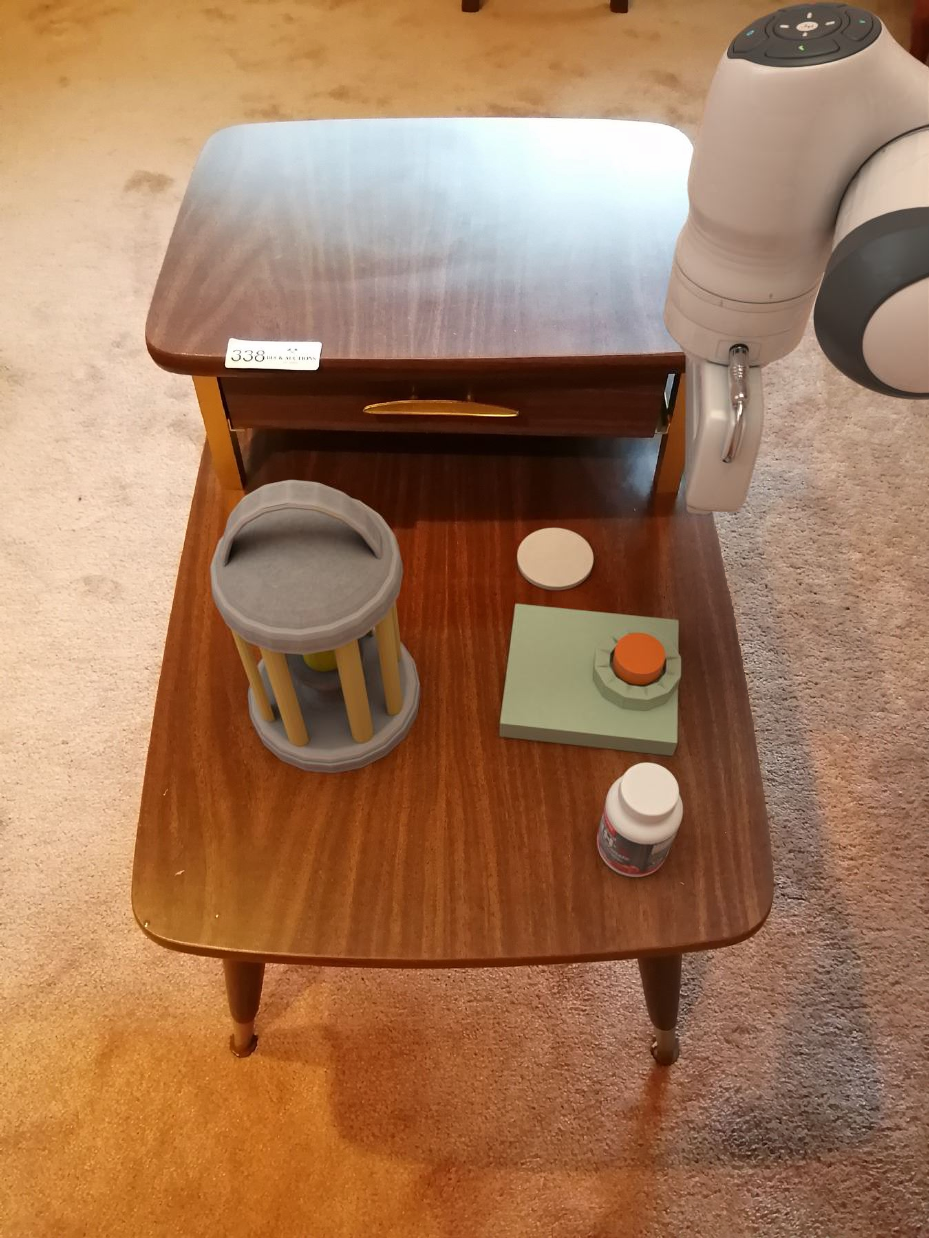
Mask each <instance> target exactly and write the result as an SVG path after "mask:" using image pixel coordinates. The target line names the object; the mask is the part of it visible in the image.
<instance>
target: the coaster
mask: <svg viewBox="0 0 929 1238" xmlns="http://www.w3.org/2000/svg"><path fill="white" fill-rule="evenodd" d="M516 555H517V556H516V564H517V567H518V571H519V572H520V574H521V575H522V576H523V578H524V579H525V580H527V581H528V582H529V583H531V584H532V585H533V586H535V587H537V588H540V589H544V590H548V591H565V590H569V589H573V588H575V587H578V586H579V585H581V584H582V583H583V582H585V580H587V579H588V577H589V576H590V575H591V573H592V570H593V566H594V552H593V549H592V547H591V546H590V544H589V542H588V541H587V540H586V539H585V538H584V537H582V536H581V535H580V534H579V533H576V532H574V531H573V530H570V529H566V528H561V527H546V528H542V529H538V530H535V531H534V532H532V533H530V534H529V535H527V536H526V537H525V538H524V539H523V540H522V541H521V543H520V544H519V546H518V548H517V554H516Z"/></svg>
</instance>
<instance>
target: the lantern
mask: <svg viewBox="0 0 929 1238" xmlns="http://www.w3.org/2000/svg"><path fill="white" fill-rule="evenodd" d="M398 543H399V542H398V540H397V536H396V535H395V533H394V532H393V530H392V529H391V528H390V526H389V525H388V523H387V522H386V520H385V519H384V517H383V516H382V515H380V514H379V513H378V512H377V511H375V510H374V509H373V508H371V507H370V506H368V505H366V504H365V503H363V502H362V501H361V500H359V499H356V498H352V497H351V496H349V495H348V494H346V493H345V492H343V491H341V490H339V489H336V488H334V487H332V486H331V487H330V486H328V485H325V484H324V483H320V482H317V481H308V480H299V479H298V480H297V479H287V480H282V481H277V482H273V483H272V482H271V483H267V484H264V485H262V486H260V487H258V488H257V489H255V490H253V491H252V492H249V493H248V494H246V495H245V496H243V497H242V498H241V500H239V502H238V503H237V504H236V506H235V507H234V508H233V509H232V510H231V512H230V514H229V516H228V518H227V521H226V525H225V528H224V532H223V535H222V536H221V538H220V539H219V540H218V543H217V545H216V549H215V552H214V554H213V556H212V557H213V558H212V560H211V563H210V567H209V571H210V572H209V573H210V583H211V584H210V585H211V593H212V594H211V595H212V599H213V602H214V603H215V606H216V608H217V609H218V611H219V614H220V615H221V617H222V619H223V621H224V623H225V624H226V626H227V627H228V628H230V631H231V634H232V636H233V639H234V643H235V645H236V649H237V651H238V653H239V657H240V660H241V662H242V665H243V668H244V671H245V673H246V676H247V680H248V682H249V687H248V692H247V699H248V710H249V717H250V720H251V723H252V726H253V727H254V729H255V731H256V733H257V735H258V737H259V739H260V741H261V742H262V744H263V746H264V747H266V748H267V750H269V751H270V752H271V753H272V754H273V755H275V757H277V758H278V759H279V760H280V761H282V762H283V763H286V764H289V765H291V766H293V767H296V768H298V769H300V770H303V771H305V772H313V773H314V772H315V773H326V774H338V773H342V772H348V771H353V770H359V769H362V768H364V767H366V766H368V765H370V764H372V763H374V762H376V761H378V760H380V759H382V758H384V757H386V756H387V755H388V754H390V753H391V752H392V750H394V749H395V748H396V747H397V746H398V745H399V744H400V743H401V742H402V741H403V740H404V739H405V738H406V737H407V735H408V733H409V731H410V729H411V727H412V726H413V724H414V722H415V721H416V718H417V716H418V711H419V704H420V699H421V684H420V683H421V682H420V679H419V674H418V671H417V665H416V661H415V660H414V659H413V657H412V656H411V654H410V652H409V651H408V649H407V648H406V646H405V645H404V644H403V642H401V635H400V627H399V617H398V608H397V599H398V598H399V596H400V590H401V586H402V580H403V575H404V566H403V561H402V555H401V552H400V547H399V544H398ZM251 645H254V646H256V647H259V651H260V654H261V657H262V658H261V659H260V660H259V662H258V663H257V661H256V657H255V655H254V651H253V649H252V646H251Z"/></svg>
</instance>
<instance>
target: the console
mask: <svg viewBox="0 0 929 1238" xmlns="http://www.w3.org/2000/svg"><path fill="white" fill-rule="evenodd" d="M679 627H680V625H679V619H671V618H662V617H653V616H642V615H631V614H622V613H614V612H613V613H611V612H603V611H602V612H601V611H592V610H582V609H573V608H562V607H555V606H554V607H553V606H543V605H532V604H523V603H515V604H514V611H513V619H512V627H511V635H510V642H509V649H508V650H509V651H508V658H507V665H506V673H505V681H504V687H503V695H502V703H501V711H500V719H499V732H498V733H499V735H498V737H501V738H508V739H509V738H510V739H520V740H527V741H535V742H536V741H537V742H544V743H554V744H563V745H571V746H580V747H589V748H597V749H607V750H616V751H625V752H634V753H643V754H651V755H659V756H668V757H673V756H674V754H675V751H676V748H677V746H678V736H679V735H678V731H679V730H678V729H679V728H678V726H679V725H678V722H679V721H678V717H679V716H678V715H679V713H678V712H679V684H680V681H681V678H682V656H681V655H680V654H679ZM631 633H645V634H648V635H651V636H653V637H654V638H656V639H657V640H658V641H659V642H660V643H661V644H662V646H663V648H664V650H665V661H664V665H663V668H662V672H661V674H660V676H659V677H658V678H657V679H656V680H655V681H654V682H652V683H650V684H647V685H633V684H629V683H627V682H625V681H623V680H622V679H621V678H620V677H619V676H618V675H617V674H616V672H615V670H614V668H613V657H614V652H615V647H616V645H617V643H618V641H619V640H620V639H621V638H622V637H624V636H626V635H628V634H631Z"/></svg>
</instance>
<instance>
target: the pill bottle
mask: <svg viewBox="0 0 929 1238" xmlns="http://www.w3.org/2000/svg"><path fill="white" fill-rule="evenodd" d="M606 794H607V795H606V797H605V801H604V806H603V809H602V815H601V818H600V822H599V825H598V830H597V835H596V845H597V850H598V852H599V855H600V858H601V859H602V860H603V862H604V863H605V864H606V865H607V866H608V867H609V868H610V869H611V870H613V871H614V872H616V873H617V874H619V875H623V876H626V877H629V878H642V877H643V878H644V877H645V876H648V875H649V876H650V875H651V874H653V873H655V872H656V871H658V870H659V869H660V868H661V867H662V865H663V864H664V863H665V861H666V859H667V857H668V854H669V852H670V850H671V847H672V845H673V843H674V840H675V837H676V835H677V832H678V830H679V828H680V826H681V823H682V820H683V815H684V806H683V805H684V804H683V801H682V797H681V795H680V786H679V783H678V781H677V779H676V778H675V776H674V775H673V773H672V772H671V771H670V770H668V769H667V768H666V767H664V766H662V765H660V764H657V763H654V762H639V763H637V764H634V765H632V766H630V767H629V768H628V769H627V770H626V771H625V772H624V774H623V775H622V776H620V777H619V778H617V779H616V780H615V781H614V783H613V784H612V785H611V786H610V788H609V789H608V792H607V793H606Z"/></svg>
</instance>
